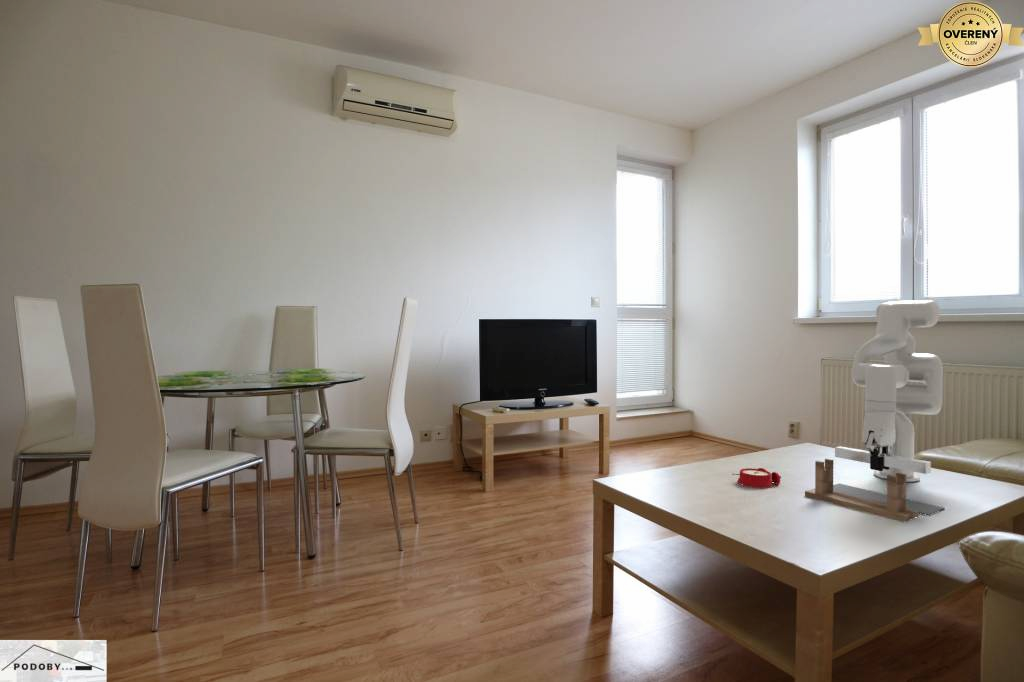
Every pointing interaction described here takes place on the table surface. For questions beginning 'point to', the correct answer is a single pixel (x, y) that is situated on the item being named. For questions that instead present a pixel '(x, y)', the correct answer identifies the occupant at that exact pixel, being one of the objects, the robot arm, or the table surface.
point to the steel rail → (885, 460)
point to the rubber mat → (881, 497)
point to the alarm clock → (758, 477)
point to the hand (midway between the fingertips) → (879, 468)
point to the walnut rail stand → (891, 509)
